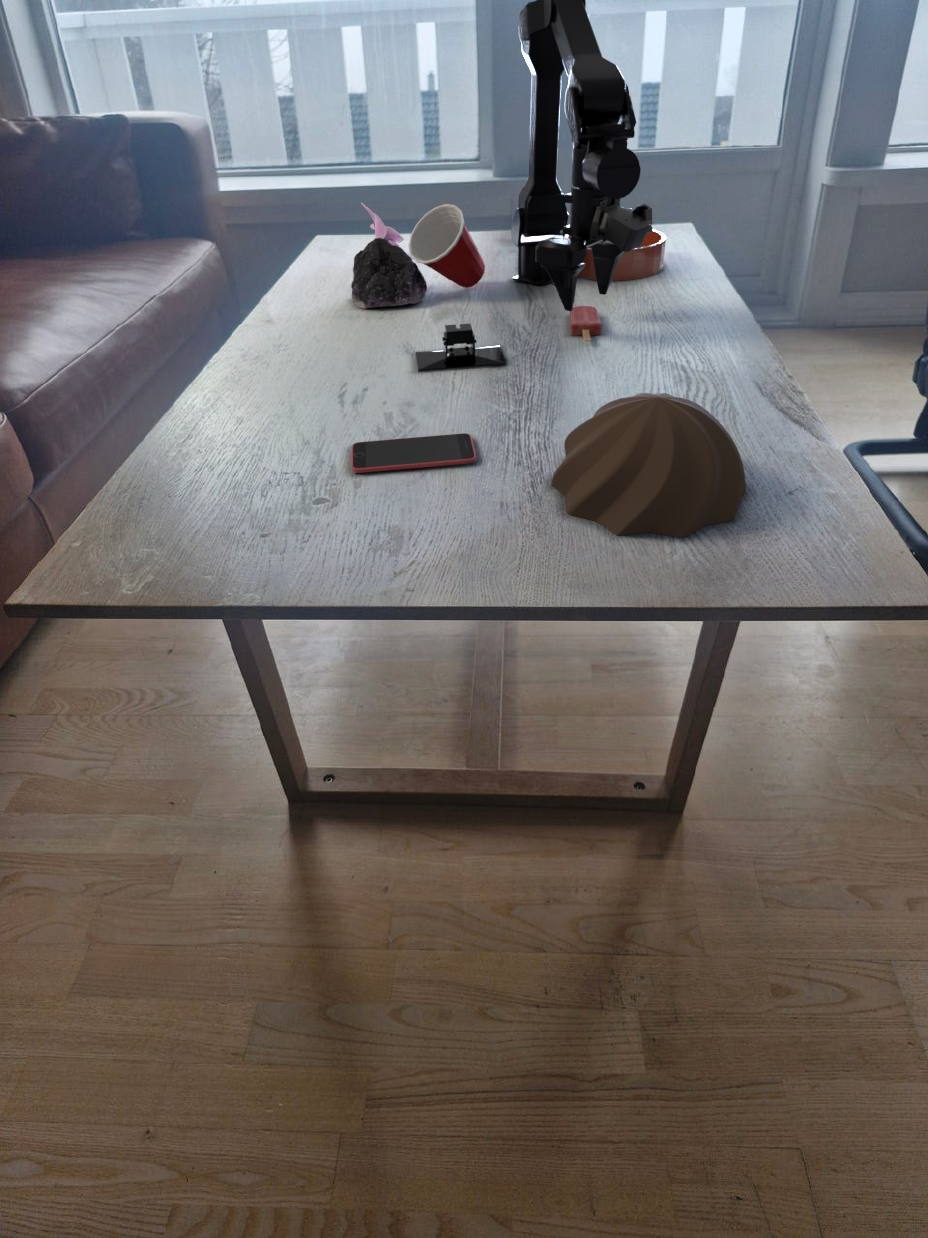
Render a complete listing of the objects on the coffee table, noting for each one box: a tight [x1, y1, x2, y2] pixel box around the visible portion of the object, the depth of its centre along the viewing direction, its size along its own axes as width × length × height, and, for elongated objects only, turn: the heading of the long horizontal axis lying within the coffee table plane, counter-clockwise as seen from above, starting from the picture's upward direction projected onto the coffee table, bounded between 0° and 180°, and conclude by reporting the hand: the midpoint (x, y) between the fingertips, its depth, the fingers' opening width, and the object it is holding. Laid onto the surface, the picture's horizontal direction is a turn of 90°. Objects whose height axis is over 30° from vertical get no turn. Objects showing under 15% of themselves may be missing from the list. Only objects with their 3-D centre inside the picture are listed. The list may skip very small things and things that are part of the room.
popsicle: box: [569, 305, 602, 342], centre depth 121 cm, size 4×2×15 cm
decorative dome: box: [551, 392, 747, 538], centre depth 80 cm, size 19×20×10 cm
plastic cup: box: [408, 203, 486, 289], centre depth 135 cm, size 11×11×12 cm
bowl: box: [565, 228, 667, 282], centre depth 146 cm, size 18×18×5 cm
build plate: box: [415, 322, 507, 373], centre depth 112 cm, size 12×7×5 cm, turn 96°
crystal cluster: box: [350, 237, 428, 309], centre depth 135 cm, size 13×14×10 cm
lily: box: [360, 202, 405, 248], centre depth 156 cm, size 12×12×10 cm
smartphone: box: [350, 432, 477, 474], centre depth 90 cm, size 7×1×14 cm
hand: (586, 302), depth 119 cm, fingers open, 9 cm apart
